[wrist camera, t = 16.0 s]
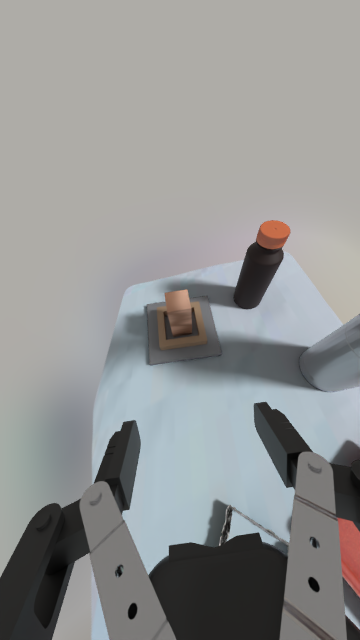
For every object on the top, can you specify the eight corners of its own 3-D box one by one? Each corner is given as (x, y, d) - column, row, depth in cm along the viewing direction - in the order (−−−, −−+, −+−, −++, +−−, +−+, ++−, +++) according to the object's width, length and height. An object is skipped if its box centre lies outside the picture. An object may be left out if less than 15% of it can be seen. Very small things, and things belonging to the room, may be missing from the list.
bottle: (244, 313, 47) (273, 248, 29) (228, 295, 50) (245, 225, 32) (265, 302, 48) (306, 232, 31) (248, 284, 51) (276, 212, 34)
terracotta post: (188, 317, 46) (187, 289, 37) (192, 333, 44) (191, 308, 34) (170, 320, 46) (164, 292, 37) (173, 336, 44) (167, 312, 34)
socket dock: (207, 297, 50) (207, 290, 47) (221, 355, 42) (222, 350, 39) (147, 306, 50) (145, 299, 47) (150, 365, 42) (147, 361, 39)
